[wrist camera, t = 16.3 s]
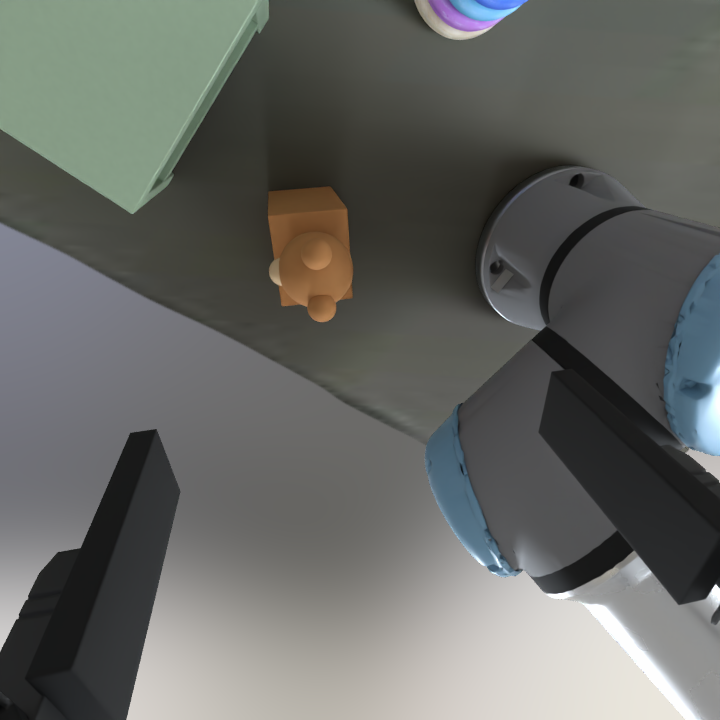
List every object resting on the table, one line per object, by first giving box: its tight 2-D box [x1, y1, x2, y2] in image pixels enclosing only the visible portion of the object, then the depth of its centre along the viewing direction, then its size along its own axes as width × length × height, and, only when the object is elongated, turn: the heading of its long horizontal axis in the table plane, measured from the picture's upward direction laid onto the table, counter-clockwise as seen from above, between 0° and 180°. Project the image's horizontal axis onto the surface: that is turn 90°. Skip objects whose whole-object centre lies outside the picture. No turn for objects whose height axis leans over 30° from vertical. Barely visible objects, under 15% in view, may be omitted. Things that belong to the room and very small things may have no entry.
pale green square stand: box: [0, 0, 269, 214], centre depth 24 cm, size 13×14×10 cm
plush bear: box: [268, 186, 353, 322], centre depth 31 cm, size 6×6×14 cm
